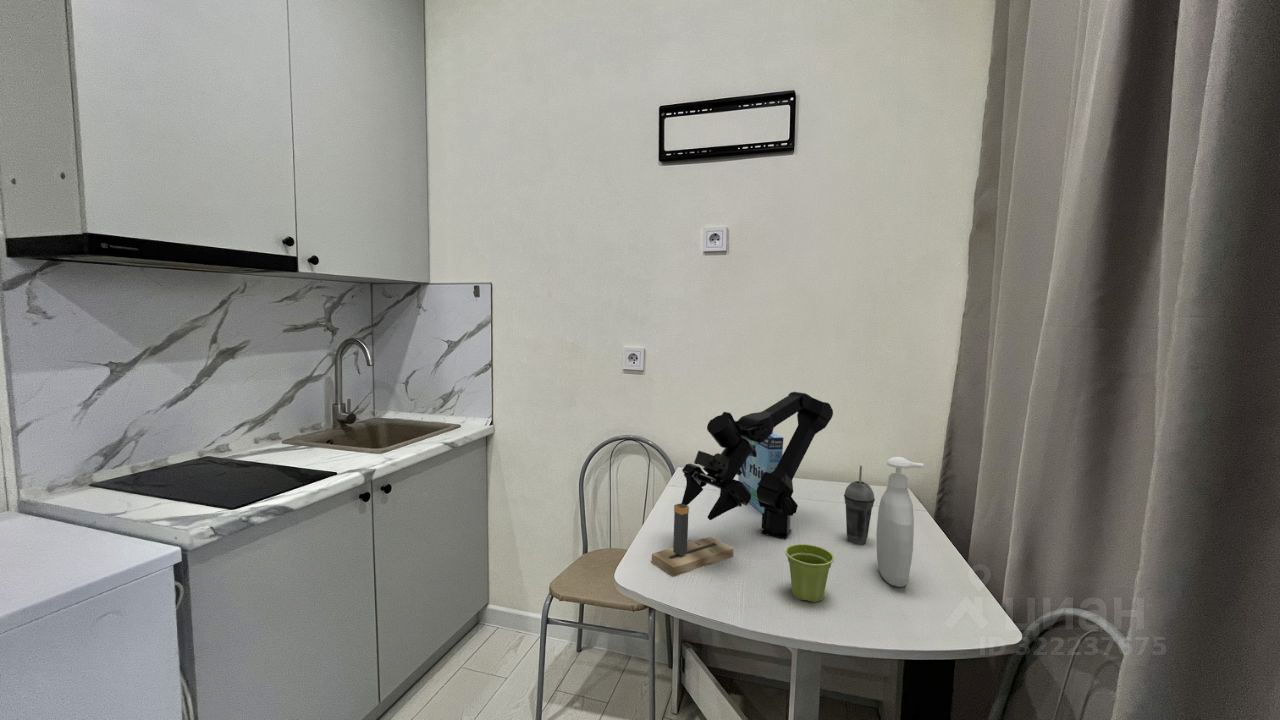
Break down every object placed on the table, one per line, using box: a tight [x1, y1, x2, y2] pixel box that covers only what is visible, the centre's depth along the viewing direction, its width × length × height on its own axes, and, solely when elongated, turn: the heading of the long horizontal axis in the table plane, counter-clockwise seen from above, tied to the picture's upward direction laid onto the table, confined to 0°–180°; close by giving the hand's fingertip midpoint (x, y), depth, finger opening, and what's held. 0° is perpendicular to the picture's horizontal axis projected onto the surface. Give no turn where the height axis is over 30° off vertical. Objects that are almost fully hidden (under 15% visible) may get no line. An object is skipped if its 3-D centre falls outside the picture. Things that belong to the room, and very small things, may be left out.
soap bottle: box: [875, 456, 925, 588], centre depth 113 cm, size 14×8×27 cm, turn 169°
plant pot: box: [784, 543, 835, 603], centre depth 106 cm, size 9×9×9 cm
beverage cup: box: [843, 465, 876, 546], centre depth 132 cm, size 7×7×20 cm
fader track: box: [651, 536, 734, 577], centre depth 120 cm, size 18×8×2 cm, turn 125°
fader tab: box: [672, 502, 690, 556], centre depth 118 cm, size 2×3×11 cm
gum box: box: [737, 432, 785, 514], centre depth 158 cm, size 20×5×23 cm, turn 13°
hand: (695, 512), depth 120 cm, fingers open, 9 cm apart
